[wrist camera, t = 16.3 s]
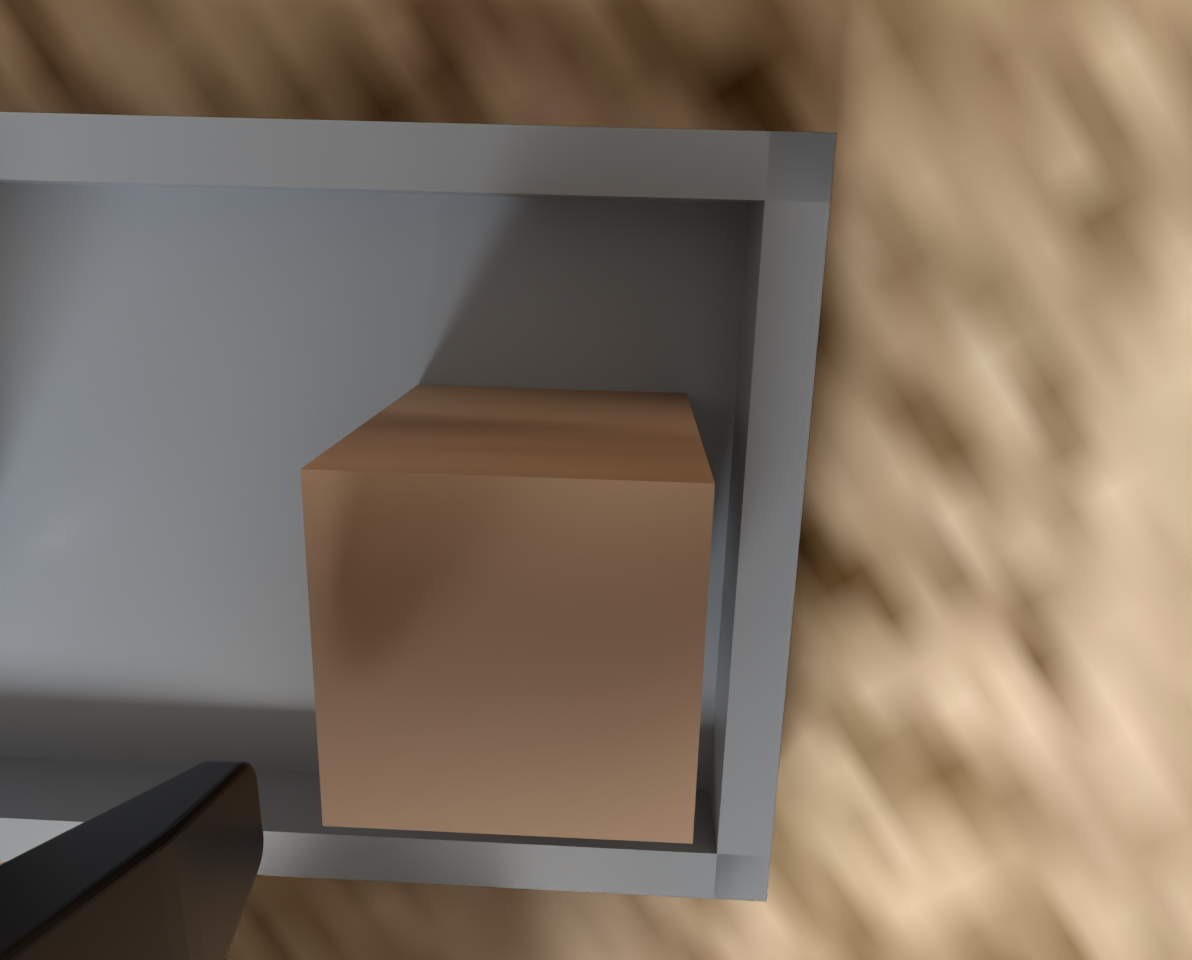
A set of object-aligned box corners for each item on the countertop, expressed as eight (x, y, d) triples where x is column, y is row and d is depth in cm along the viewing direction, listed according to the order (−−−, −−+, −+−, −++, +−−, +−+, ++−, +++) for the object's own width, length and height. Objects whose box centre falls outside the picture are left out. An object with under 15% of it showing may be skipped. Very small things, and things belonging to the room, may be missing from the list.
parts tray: (749, 812, 16) (766, 901, 14) (-246, 764, 17) (-374, 842, 15) (804, 147, 13) (835, 133, 11) (-405, 117, 14) (-595, 97, 12)
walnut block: (673, 641, 15) (692, 843, 10) (424, 630, 15) (322, 826, 10) (686, 392, 14) (714, 484, 9) (417, 384, 14) (300, 469, 9)
